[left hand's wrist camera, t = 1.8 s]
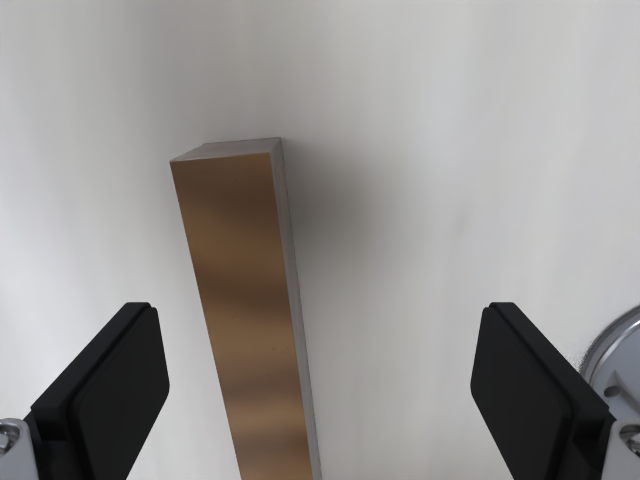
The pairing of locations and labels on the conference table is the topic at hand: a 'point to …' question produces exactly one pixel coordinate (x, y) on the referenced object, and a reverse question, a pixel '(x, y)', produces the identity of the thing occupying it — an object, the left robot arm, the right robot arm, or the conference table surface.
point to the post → (251, 302)
